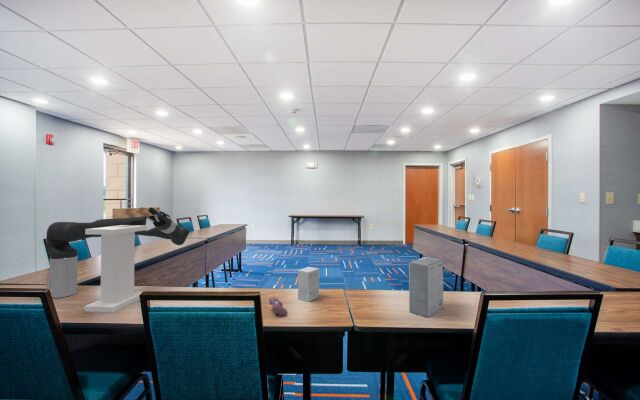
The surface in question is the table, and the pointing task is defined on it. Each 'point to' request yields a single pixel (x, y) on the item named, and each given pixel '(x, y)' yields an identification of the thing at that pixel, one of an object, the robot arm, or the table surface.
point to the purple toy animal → (277, 306)
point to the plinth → (116, 267)
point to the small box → (308, 284)
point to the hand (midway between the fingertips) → (145, 209)
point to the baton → (133, 212)
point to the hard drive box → (425, 286)
